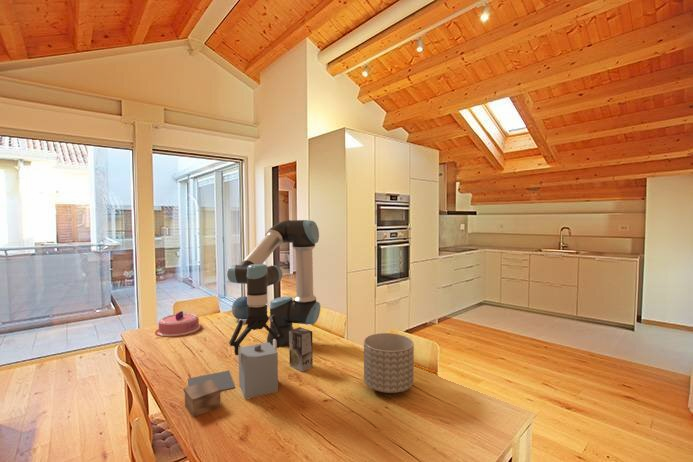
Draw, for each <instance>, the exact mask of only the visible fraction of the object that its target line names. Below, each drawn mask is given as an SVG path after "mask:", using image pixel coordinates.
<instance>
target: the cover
mask: <svg viewBox="0 0 693 462" xmlns="http://www.w3.org/2000/svg"><path fill="white" fill-rule="evenodd" d="M278 356H279V355H278V351H276V350H275V349H274V348H273V346H272V345H271V344H270V342H268V343H267V342H263V343H258V344H257V343H256V344H251V345H246V346H241V364H238V385H239V388H240V390H241V394H242V395H243V398H244V400H247V399H252V398H255V397H261V396H264V395H269V394H273V393H276V392H279V378H278V377H279V373H278V372H279V370H278V369H279V368H278V367H279V362H278V358H279V357H278Z"/></svg>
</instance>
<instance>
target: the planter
mask: <svg viewBox="0 0 693 462" xmlns="http://www.w3.org/2000/svg"><path fill="white" fill-rule="evenodd" d="M414 344H415V343H414V340H412V339H411V338H410V337H408V336H405V335H404V334H403V335H402V334H399V333H391V332H389V333H387V332H379V333H375V334H371V335H370V334H369V335H368V336H366V337H365V338H364V339H363V382H364V383H365V385H366V386H367V387H368V388H370V389H371V390H375V391H377V392H381V393H385V394H396V393H397V394H398V393H403V392H405V391H407V390H410V389H411V388H412V387H413V385H414V376H415V375H414V369H415V368H414V367H415V365H414V361H415V360H414V358H415V357H414V355H415V353H414V352H415V350H414V349H415V345H414Z"/></svg>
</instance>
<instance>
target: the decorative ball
mask: <svg viewBox="0 0 693 462" xmlns="http://www.w3.org/2000/svg"><path fill="white" fill-rule="evenodd" d="M247 306H248V305H247V296H240V297H238V298H237V299H236V298H235V300H234V301H233V302H232V305H231V314H232V315H233V317H234V318H236V319H237V320H239V319H246V318H247Z"/></svg>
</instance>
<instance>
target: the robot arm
mask: <svg viewBox="0 0 693 462" xmlns="http://www.w3.org/2000/svg"><path fill="white" fill-rule="evenodd" d="M319 238H320V232H319V227H318V225H317V223H316V222H315V221H314V220H311V219H310V220H309V219H302V220H301V219H299V220H298V219H292V220H291V219H286V220H282V221H280V222H277V223H276V224H274V225H273V226H271V227H270V228H269V229H268V230H267V231H266V232H265V235H264V237H263V239H261V240H260V241H259V243H258V244H257V245H256V246H255V247H254V248H253V249H252V250H251V252H250V253H248V255H246V257H245V258H244V259H242V261H241V262H240V263H239V264H234V265H233V264H232V265H230V267H228V270H227V273H226V275H227V280H228V281H229V282H230V283H233V284H245V285H246V290H247V291H246V297H247V305H248V306H247V318H246V319H237V320H238V322H237V325H236V328H235V329H234V331H233V334H232V335H231V338H230V339H229V346H230V347H234V349H233V350H234V355H235V356H237V358H236V359H237V365H239V364H241V347H242V346H241V343H242V342H243V341H244V339H245V338H246V337H247V335H248V334H249V333H251V331H252V330H253V331H257V330H262V329H263V328H264V329H265V330H266V331H267V332H268V334H267V336H266V343H268V342H270V344H271V345H272V346H273V348H274V349H275V350H276V351H277V349H279V348H280V347H286V346H289V331H290V330H293V329H294V327H293V324H298V325H299V324H301V325H314V324H316V323H317V321H318V320H319V318H320V313H321V303H320V302H319V301H317V297H316V295H314V271H313V270H314V268H313V267H314V266H313V263H314V262H313V250H314V248H315V247H316V244H317V243H319V240H320V239H319ZM287 243H288V244H289V243H292V244H291V245H292V248H293V249H294V250H295V277H296V279H295V281H296V284H295V285H296V296H295V297H294V298H293V297H292V296H288V295H287V296H279V297H276V298H273V299H272V300H271V301H270V302H269V303H270V304H269V316H268V305H267V304H268V287H270V286H272V285H275V284H278V283H279V282H280V281H281V280H282V278H283V270H282V269H281V267H280V266H277V265H269V266H267V264H265V261H266V260H267V259H268V258H270V256H271V255H272V254H273V252H274V251H275V250H276V248H278V247H280V246H281V245H282V244H287ZM268 321H270V322H269V325H270V326H268V325H267V323H268ZM245 324H247V325H246V327H245V329H244V330H243V331H242V328H243V326H244V325H245ZM241 331H242V332H241ZM240 332H241V333H240ZM239 334H240V335H239ZM277 352H278V351H277Z"/></svg>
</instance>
